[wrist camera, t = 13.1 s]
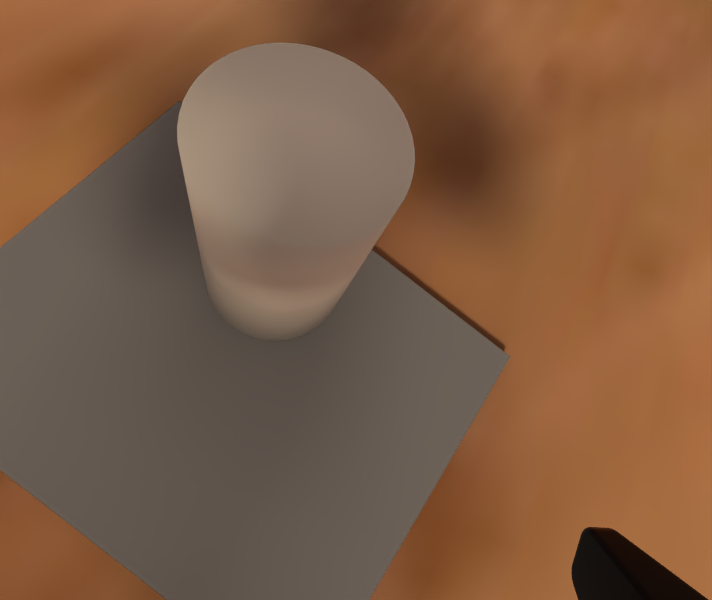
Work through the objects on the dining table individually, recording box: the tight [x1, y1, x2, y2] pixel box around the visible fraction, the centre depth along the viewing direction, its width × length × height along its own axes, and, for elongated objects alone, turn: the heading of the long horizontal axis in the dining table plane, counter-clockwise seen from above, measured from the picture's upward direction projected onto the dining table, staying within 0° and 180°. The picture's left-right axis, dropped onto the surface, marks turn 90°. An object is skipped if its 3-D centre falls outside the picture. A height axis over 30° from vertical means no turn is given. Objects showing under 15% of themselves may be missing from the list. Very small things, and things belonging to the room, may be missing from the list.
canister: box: [177, 43, 415, 341], centre depth 17 cm, size 6×6×10 cm
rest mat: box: [0, 101, 510, 600], centre depth 20 cm, size 16×20×1 cm
